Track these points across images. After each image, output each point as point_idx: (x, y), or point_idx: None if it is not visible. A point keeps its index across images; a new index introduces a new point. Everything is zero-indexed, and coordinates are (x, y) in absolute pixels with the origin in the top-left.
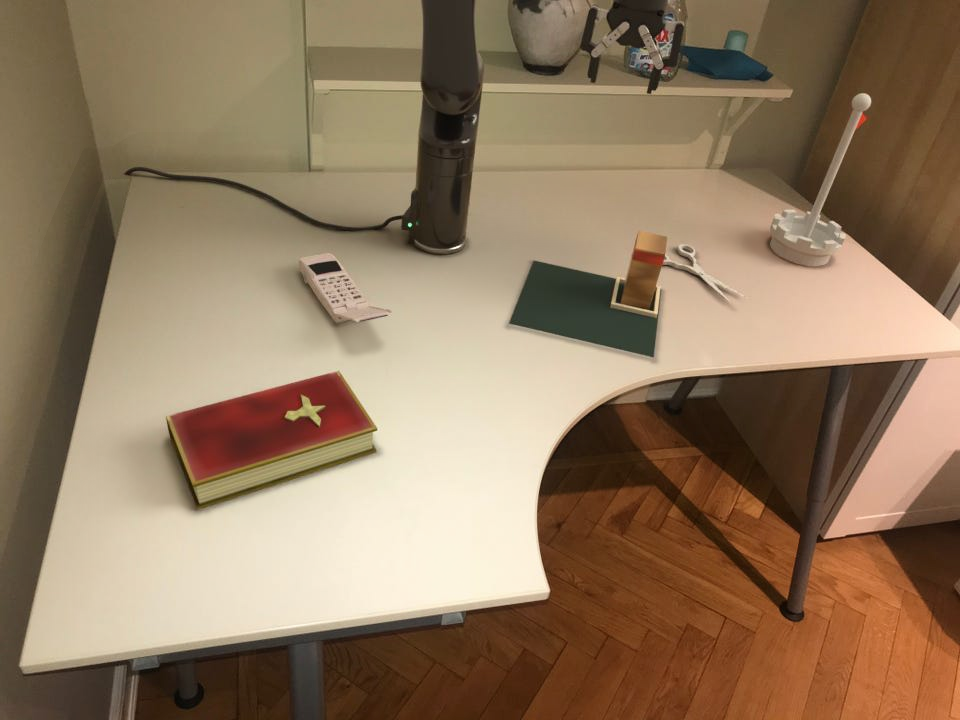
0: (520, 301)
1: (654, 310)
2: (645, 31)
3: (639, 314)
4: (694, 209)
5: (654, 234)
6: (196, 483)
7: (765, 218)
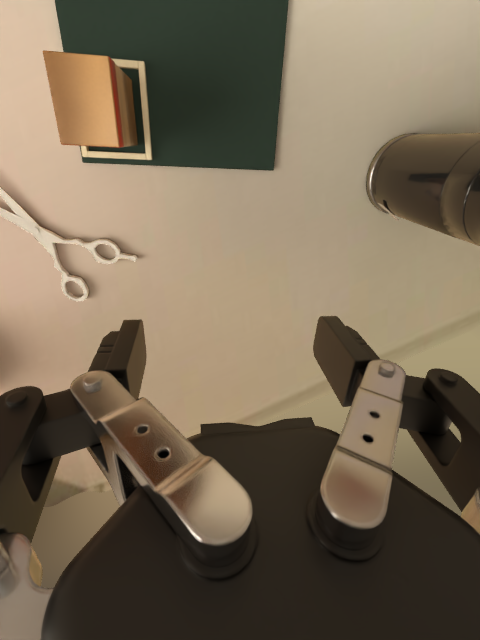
0: (282, 23)
1: None
2: (193, 499)
3: None
4: None
5: (86, 142)
6: None
7: None
